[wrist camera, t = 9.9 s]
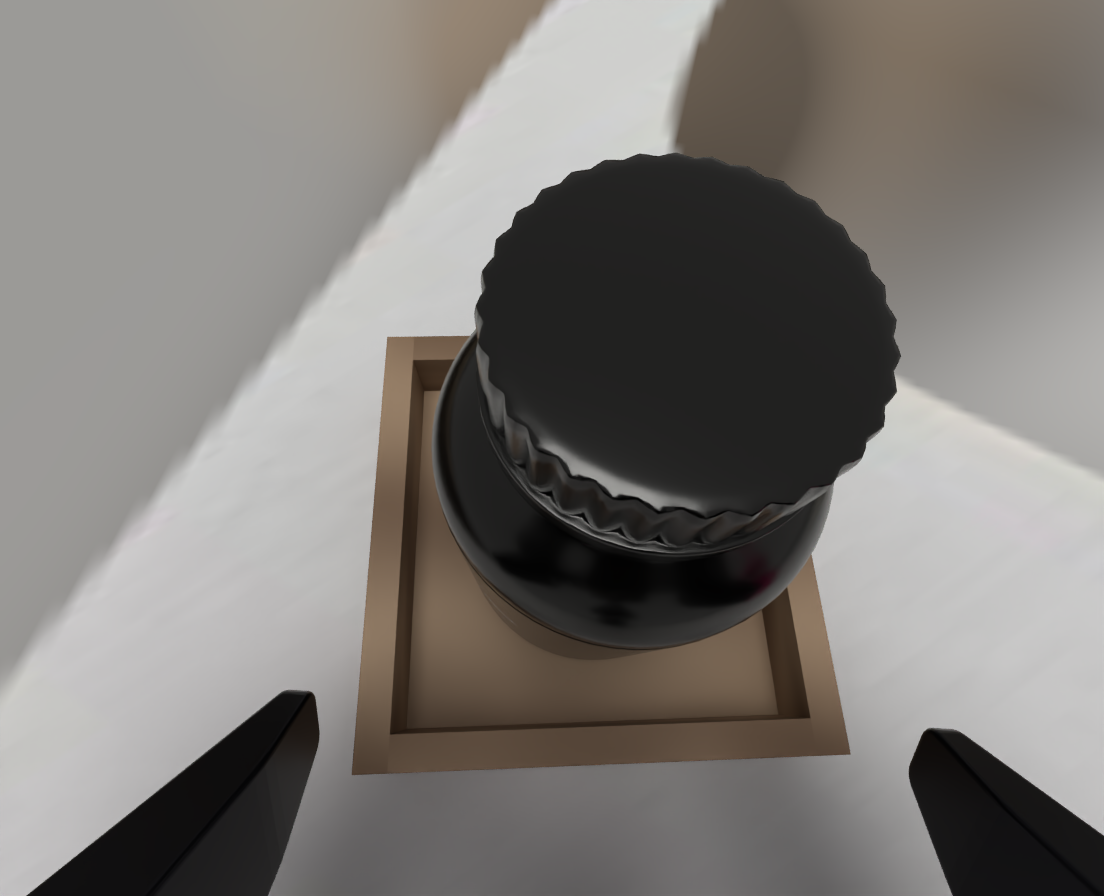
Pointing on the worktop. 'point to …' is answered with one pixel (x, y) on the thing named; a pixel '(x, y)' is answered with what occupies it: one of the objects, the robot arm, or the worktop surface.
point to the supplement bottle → (658, 403)
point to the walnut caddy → (540, 676)
